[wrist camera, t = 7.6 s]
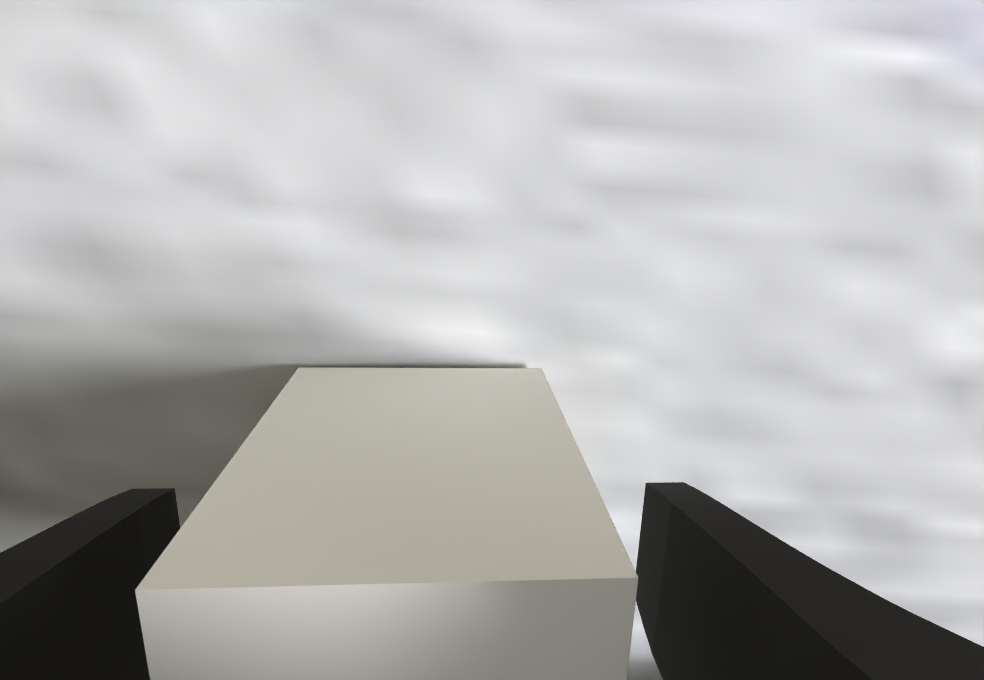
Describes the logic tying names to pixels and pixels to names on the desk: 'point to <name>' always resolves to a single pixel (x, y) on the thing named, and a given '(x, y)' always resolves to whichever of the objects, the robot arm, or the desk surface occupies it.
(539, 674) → the block
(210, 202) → the desk surface
